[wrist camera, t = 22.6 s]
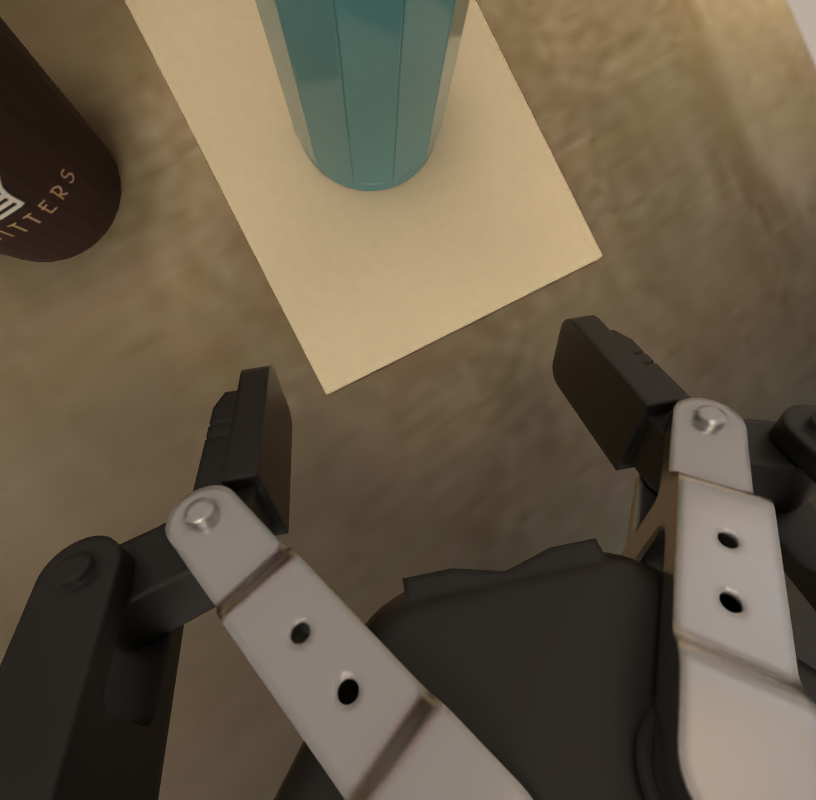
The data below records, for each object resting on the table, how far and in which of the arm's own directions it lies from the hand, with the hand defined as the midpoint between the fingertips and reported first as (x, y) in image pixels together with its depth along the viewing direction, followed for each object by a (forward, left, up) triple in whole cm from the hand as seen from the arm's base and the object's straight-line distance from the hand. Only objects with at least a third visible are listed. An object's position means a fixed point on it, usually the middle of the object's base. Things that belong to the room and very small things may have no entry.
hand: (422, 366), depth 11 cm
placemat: (-7, +10, -7) cm, 14 cm away
